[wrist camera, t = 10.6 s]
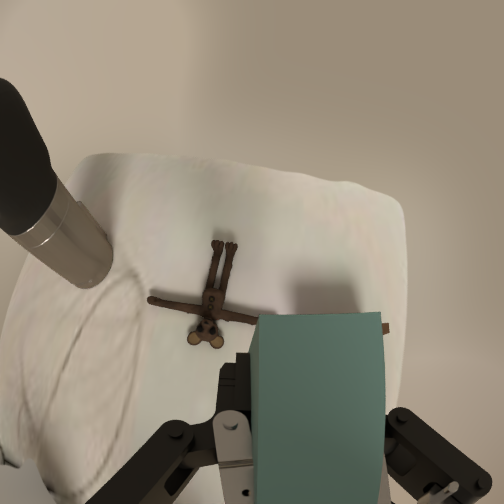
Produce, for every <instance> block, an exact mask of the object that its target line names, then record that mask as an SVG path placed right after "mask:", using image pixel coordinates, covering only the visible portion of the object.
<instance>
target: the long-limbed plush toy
mask: <svg viewBox="0 0 504 504" xmlns="http://www.w3.org/2000/svg"><path fill="white" fill-rule="evenodd" d="M211 246H212V248H213V250H214V256H213V257H212V264H211V268H210V270H209V276H208V280H207V284H206V288H205V290H204V292H203V296H202V305H195V304H187V303H180V302H173V301H167V300H163V299H160V298H157V297H154V296H149V297H148V298H147V302H148V303H149V304H151V305H155V306H160V307H165V308H169V309H174V310H179V311H183V312H187V313H192V314H197V315H200V316H202V317H203V318H204V319H203V320H202V321H201V322H200V323H199V325H198V326H197V329H196V331H193V332H191V333H190V334H189V335H188V337H187V341H188V343H189V344H191V345H197V344H199V343H200V342H201V341H207V342H209V343H210V345H211V346H212V347H213V348H215V349H219V348H221V347H222V346H223V344H224V339H223V337H222V336H219V335H218V327H217V325H216V324H215V322H214V321H213V320H219V319H223V320H225V321H228V322H229V321H236V322H242V323H248V324H251V325H256V324H257V321H258V317H254V316H249V315H245V314H240V313H236V312H232V311H227V310H223V309H222V307H223V304H224V300H225V294H226V289H227V284H228V279H229V276H230V271H231V268H232V261H233V257H234V255H235V252H236V250H237V248H238V245H237V244H236V243H235V244H233V242H230V243H229V242H226V244H225V249H226V260H225V265H224V268H223V274H222V278H221V283H220V287H219V289H216V288H213V286H214V281H215V277H216V273H217V269H218V265H219V261H220V257H221V254H222V252H223V247H224V242H223V241H221V242H220V241H219V240H216V241H215V240H213V241H212V243H211Z"/></svg>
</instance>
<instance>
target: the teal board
mask: <svg viewBox="0 0 504 504" xmlns="http://www.w3.org/2000/svg"><path fill="white" fill-rule="evenodd" d="M248 353H250V372H251V424H250V432H251V436H252V457H253V466H254V501H255V504H377V503H378V496H379V490H380V482H381V474H382V464H383V453H384V437H385V362H384V345H383V333H382V322H381V312H368V313H346V314H309V315H260V314H259V317H258V321H257V324H256V328H255V331H254V335H253V338H252V342H251V345H250V348H249V352H248Z"/></svg>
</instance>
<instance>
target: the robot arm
mask: <svg viewBox="0 0 504 504" xmlns="http://www.w3.org/2000/svg"><path fill="white" fill-rule="evenodd" d="M0 228H1V229H2V230H3V231H4V232H6V233H7V234H8V235H9V236H10V237H11V238H13V239H14V240H15V241H16V242H17V243H18V244H20V245H21V246H22V247H24V248H25V249H26V250H27V251H28V252H30V253H31V254H32V255H34V256H35V257H36V258H37V259H39V260H40V261H41V262H43V263H44V264H45V265H47V266H48V267H49V268H51V269H52V270H53V271H55V272H56V273H58V274H59V275H60V276H62V277H63V278H65V279H66V280H68V281H69V282H70V283H71V284H73V285H75V286H77V287H79V288H91V287H94V286H96V285H97V284H99V283H100V282H101V281H102V280H103V279H104V278H105V277H106V275H107V274H108V272H109V270H110V268H111V265H112V261H113V252H112V248H111V245H110V244H109V242H108V241H107V239H106V236H107V234H106V233H105V232H104V230H103V229H102V228H101V227H100V225H99V224H98V223H97V221H96V220H95V219H94V218H93V216H92V215H91V214H90V212H89V211H88V210H87V208H86V207H85V206H84V204H83V203H82V202H80V201H78V202H76V201H75V200H74V198H73V197H72V196H71V194H70V193H69V192H68V190H67V189H66V188H65V186H64V185H63V184H62V182H61V181H60V179H59V178H58V176H57V175H56V173H55V172H54V170H53V169H52V167H51V162H50V157H49V153H48V150H47V147H46V145H45V143H44V141H43V139H42V137H41V135H40V133H39V131H38V129H37V127H36V125H35V123H34V121H33V119H32V117H31V115H30V112H29V110H28V108H27V106H26V104H25V102H24V100H23V99H22V97H21V95H20V94H19V92H18V91H17V89H16V88H15V87H14V86H13V85H12V84H11V83H9V82H8V81H7V80H5V79H2V78H0ZM250 424H251V372H250V353H236V363H224V365H223V366H222V368H221V369H220V373H219V383H218V392H217V402H216V411H215V414H214V415H213V417H212V418H211V419H209V420H208V421H206V422H204V423H200V424H194V425H189V424H188V423H186V422H184V421H181V420H171V421H167V422H165V423H164V424H163V425H161V427H160V428H159V429H158V430H157V431H156V432H155V433H154V434H153V435H152V436H151V437H150V438H149V440H148V441H147V442H146V443H145V444H144V445H143V446H142V447H141V448H140V449H139V450H138V451H137V452H136V453H135V454H134V455H133V456H132V457H131V459H130V460H129V461H128V462H127V463H126V464H125V465H124V466H123V467H122V468H121V469H120V470H119V471H118V472H117V473H116V474H115V475H114V476H113V477H112V478H111V479H110V480H109V481H108V482H107V483H106V484H105V485H104V486H103V487H102V488H101V489H100V490H99V491H98V492H97V493H96V494H94V495H93V496H92V497H91V498H90V499H89V500H88V501H87V502H86V503H85V504H172V503H173V502H174V501H175V499H176V498H177V497H178V496H179V494H180V493H181V492H182V490H183V489H184V488H185V487H186V485H187V484H188V483H189V481H190V480H191V479H192V477H193V476H194V475H195V473H196V472H197V471H198V469H199V468H200V467H203V466H209V465H214V464H218V465H219V471H220V477H221V483H222V489H223V495H224V500H225V504H255V501H254V466H253V457H252V436H251V432H250ZM388 474H389V475H390V476H391V477H392V478H393V479H394V480H395V481H396V482H397V483H398V484H400V485H401V486H402V487H403V488H404V489H405V490H406V491H407V492H408V493H409V494H410V495H411V496H412V497H413V498H414V499H416V500H417V501H418V502H417V504H474V503H475V502H476V501H478V500H479V499H480V498H482V497H483V496H485V495H486V494H487V493H488V492H489V491H490V489H491V486H492V478H491V476H490V474H488V472H486V471H485V470H484V469H482V468H481V467H480V466H478V465H477V464H476V463H475V462H473V461H472V460H471V459H469V458H468V457H467V456H466V455H465V454H463V453H462V452H461V451H460V450H458V449H457V448H456V447H455V446H453V445H452V444H451V443H449V442H448V441H447V440H446V439H445V438H443V437H442V436H441V435H440V434H438V433H437V432H436V431H435V430H434V429H432V428H431V427H430V426H429V425H427V424H426V423H425V422H424V421H423V420H421V419H420V418H419V417H418V416H416V415H415V414H414V413H413V412H412V411H410V410H409V409H406V408H403V407H398V408H394V409H392V410H391V411H390V412H389V414H388V415H385V437H384V453H383V464H382V474H381V482H380V490H379V496H378V503H377V504H395V503H393V502H392V501H391V498H390V489H389V481H388Z"/></svg>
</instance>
